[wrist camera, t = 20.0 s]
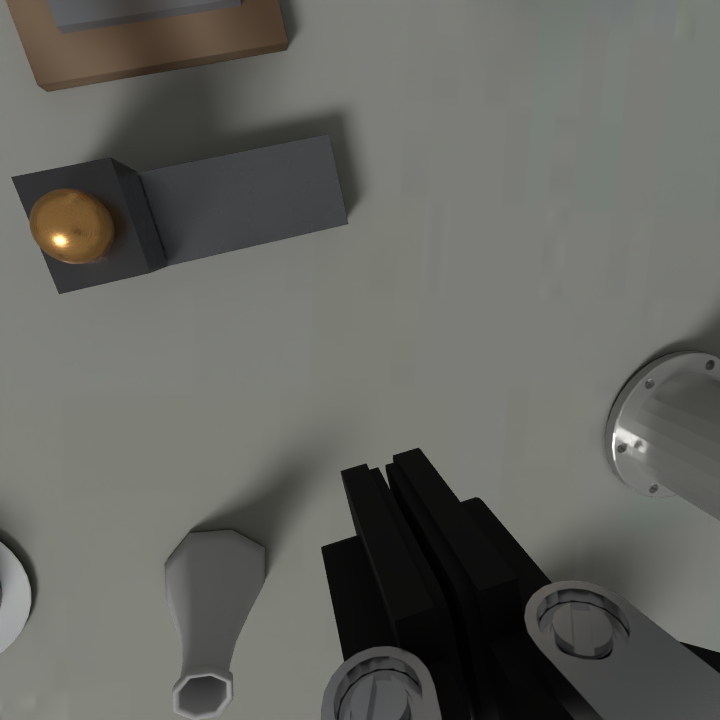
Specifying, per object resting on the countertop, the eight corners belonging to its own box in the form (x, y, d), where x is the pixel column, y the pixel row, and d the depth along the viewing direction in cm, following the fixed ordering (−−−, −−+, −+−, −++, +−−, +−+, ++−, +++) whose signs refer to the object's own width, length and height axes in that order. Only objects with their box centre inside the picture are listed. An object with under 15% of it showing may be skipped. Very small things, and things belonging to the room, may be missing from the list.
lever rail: (324, 140, 29) (329, 133, 27) (342, 224, 30) (348, 223, 28) (64, 193, 27) (49, 190, 25) (98, 281, 28) (86, 284, 26)
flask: (180, 516, 33) (151, 630, 24) (280, 537, 35) (291, 649, 26) (150, 604, 34) (111, 745, 25) (249, 619, 36) (248, 755, 27)
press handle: (136, 171, 25) (89, 146, 18) (168, 265, 27) (135, 278, 19) (56, 187, 25) (-26, 168, 17) (93, 283, 26) (31, 302, 19)
